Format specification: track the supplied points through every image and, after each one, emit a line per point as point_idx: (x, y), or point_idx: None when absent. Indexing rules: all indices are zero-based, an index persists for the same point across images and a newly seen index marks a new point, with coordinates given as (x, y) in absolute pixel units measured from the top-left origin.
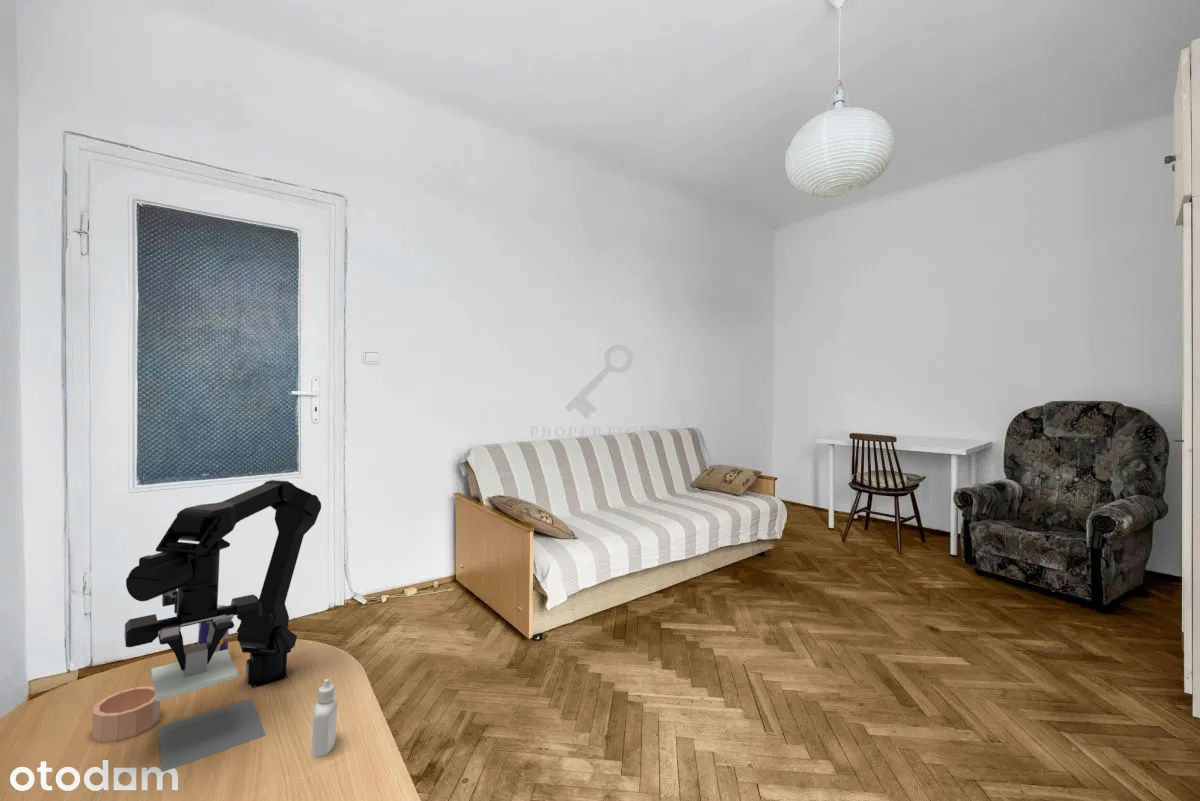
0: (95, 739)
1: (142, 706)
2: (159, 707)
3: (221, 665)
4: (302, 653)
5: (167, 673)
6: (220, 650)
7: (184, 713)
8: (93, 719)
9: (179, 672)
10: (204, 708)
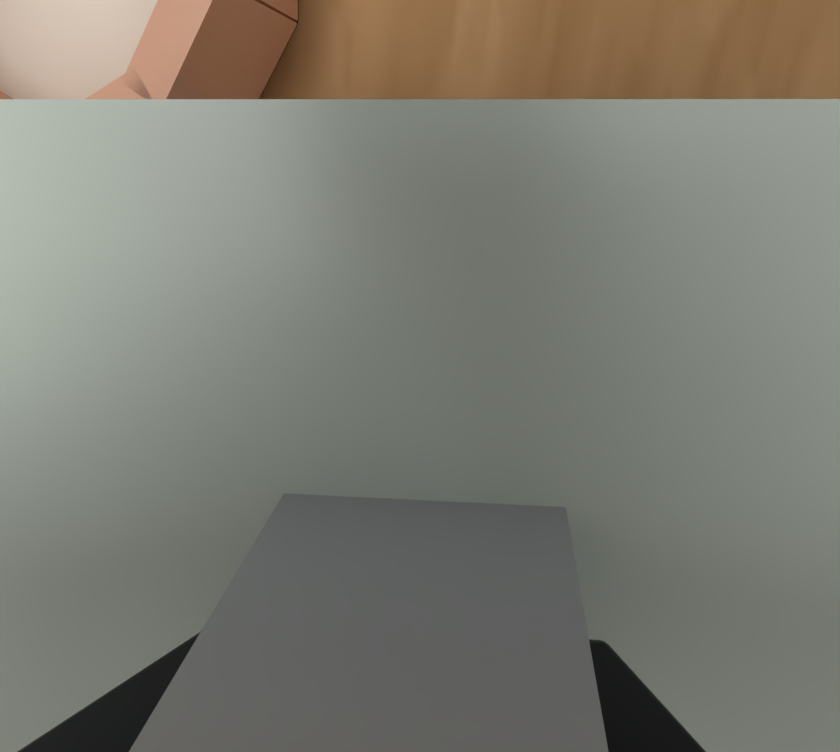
0: None
1: None
2: (257, 12)
3: (757, 702)
4: None
5: (92, 454)
6: None
7: (457, 9)
8: None
9: (237, 530)
10: (591, 32)
